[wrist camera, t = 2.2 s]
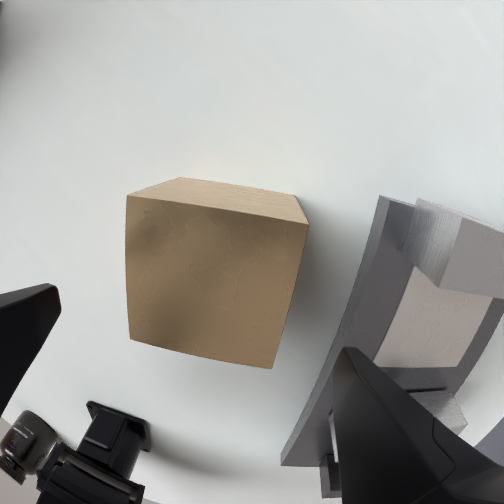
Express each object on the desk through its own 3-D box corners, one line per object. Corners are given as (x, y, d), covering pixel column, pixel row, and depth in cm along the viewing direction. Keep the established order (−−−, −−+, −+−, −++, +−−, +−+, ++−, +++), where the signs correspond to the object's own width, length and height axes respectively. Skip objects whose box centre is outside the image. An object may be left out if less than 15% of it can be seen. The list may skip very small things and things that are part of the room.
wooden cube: (272, 297, 16) (271, 369, 11) (172, 279, 16) (129, 338, 11) (294, 195, 14) (309, 224, 9) (180, 176, 14) (126, 195, 9)
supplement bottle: (33, 408, 26) (-4, 463, 14) (64, 439, 27) (35, 494, 16) (18, 408, 27) (-15, 455, 16) (46, 436, 29) (18, 484, 18)
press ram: (390, 459, 20) (397, 489, 17) (298, 464, 20) (300, 498, 17) (452, 385, 16) (471, 419, 13) (346, 388, 16) (357, 435, 13)
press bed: (393, 450, 22) (404, 488, 17) (280, 453, 22) (280, 499, 17) (518, 235, 14) (566, 262, 8) (381, 186, 14) (434, 207, 8)
